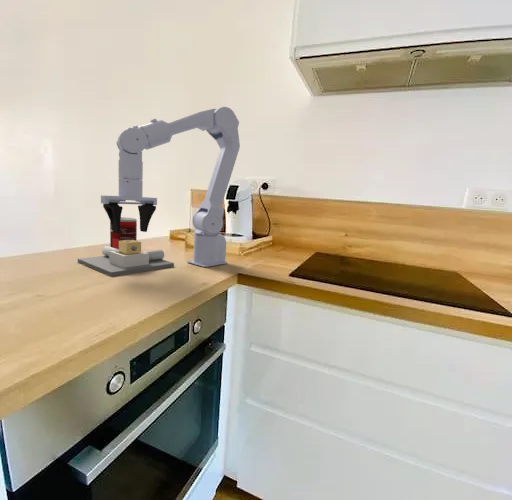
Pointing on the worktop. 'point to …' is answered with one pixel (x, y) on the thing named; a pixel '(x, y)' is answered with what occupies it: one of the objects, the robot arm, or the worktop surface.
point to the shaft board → (126, 262)
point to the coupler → (129, 247)
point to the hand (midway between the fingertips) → (130, 232)
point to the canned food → (124, 232)
